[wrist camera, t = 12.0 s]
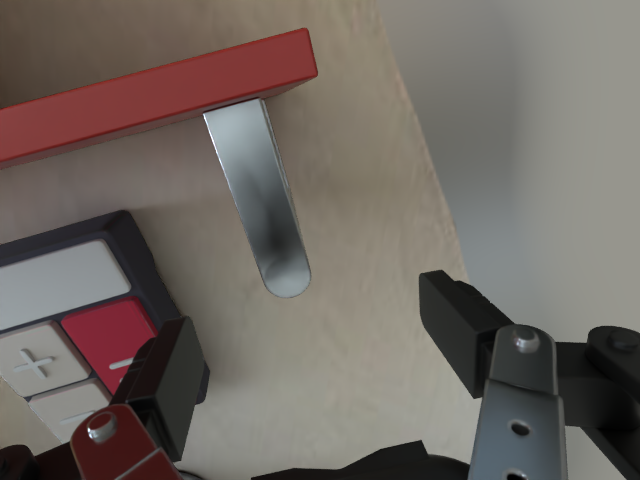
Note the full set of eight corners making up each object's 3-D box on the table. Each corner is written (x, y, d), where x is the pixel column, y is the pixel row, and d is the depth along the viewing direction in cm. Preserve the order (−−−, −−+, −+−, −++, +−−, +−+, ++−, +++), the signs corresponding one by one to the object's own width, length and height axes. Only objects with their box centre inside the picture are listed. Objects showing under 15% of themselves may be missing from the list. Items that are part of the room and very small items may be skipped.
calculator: (60, 455, 26) (-96, 290, 19) (86, 406, 30) (-36, 254, 23) (205, 411, 26) (101, 232, 20) (213, 368, 30) (127, 207, 24)
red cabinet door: (308, 188, 25) (381, 347, 9) (88, 249, 24) (-256, 538, 8) (279, 79, 22) (308, 25, 6) (31, 147, 21) (-652, 282, 6)
